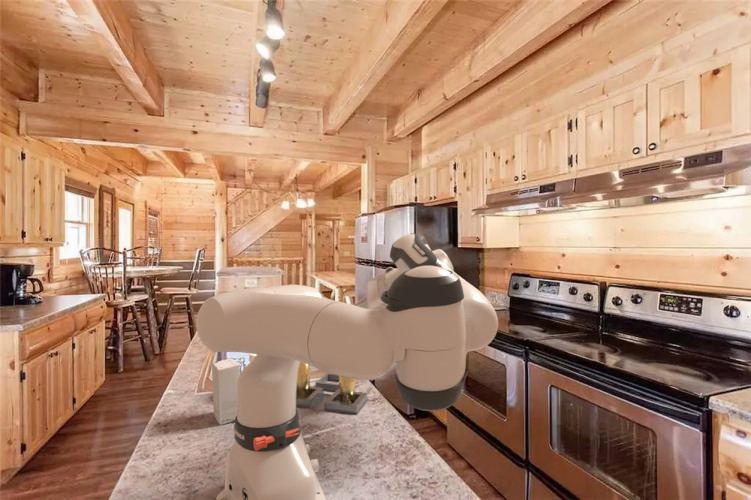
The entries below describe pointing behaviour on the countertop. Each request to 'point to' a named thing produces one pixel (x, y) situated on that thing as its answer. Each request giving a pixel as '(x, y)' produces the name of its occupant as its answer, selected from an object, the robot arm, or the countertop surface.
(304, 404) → the fixture plate
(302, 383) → the cylinder
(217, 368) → the skincare box
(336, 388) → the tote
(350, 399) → the billet
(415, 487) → the countertop surface
